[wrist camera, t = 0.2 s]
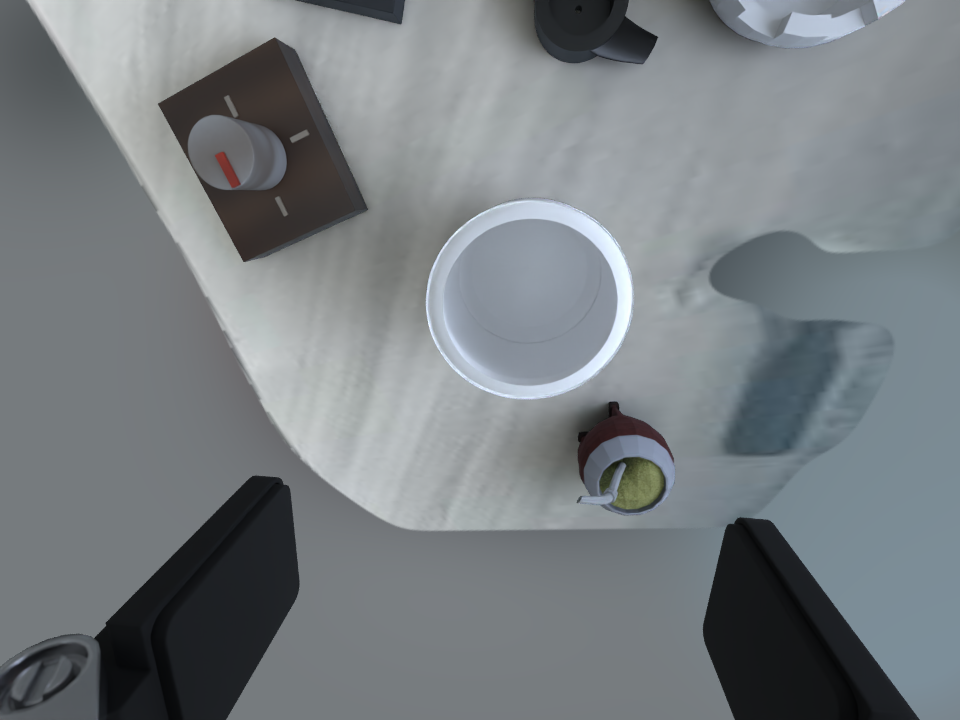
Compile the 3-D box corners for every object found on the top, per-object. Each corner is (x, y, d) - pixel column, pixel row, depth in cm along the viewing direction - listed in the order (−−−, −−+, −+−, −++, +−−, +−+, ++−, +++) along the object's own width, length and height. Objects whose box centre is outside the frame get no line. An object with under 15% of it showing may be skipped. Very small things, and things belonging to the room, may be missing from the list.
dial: (216, 140, 35) (170, 132, 31) (267, 113, 34) (227, 101, 30) (248, 199, 36) (207, 200, 32) (298, 175, 35) (264, 172, 31)
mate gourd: (656, 467, 43) (717, 599, 29) (566, 471, 44) (582, 601, 30) (655, 389, 41) (721, 491, 27) (560, 395, 42) (576, 497, 28)
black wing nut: (602, -102, 31) (609, -130, 28) (659, 57, 34) (671, 45, 31) (493, -31, 33) (490, -51, 30) (555, 115, 35) (557, 109, 33)
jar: (484, 343, 41) (460, 421, 27) (445, 221, 38) (396, 237, 24) (610, 308, 39) (655, 373, 25) (579, 177, 36) (611, 167, 22)
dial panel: (185, 110, 38) (155, 103, 35) (295, 49, 36) (273, 36, 33) (263, 257, 41) (242, 262, 38) (368, 209, 39) (354, 210, 36)
